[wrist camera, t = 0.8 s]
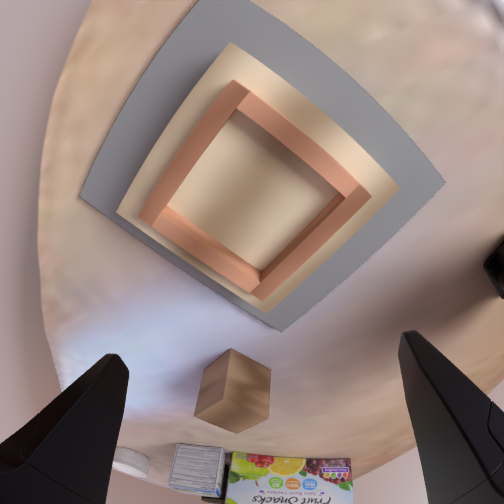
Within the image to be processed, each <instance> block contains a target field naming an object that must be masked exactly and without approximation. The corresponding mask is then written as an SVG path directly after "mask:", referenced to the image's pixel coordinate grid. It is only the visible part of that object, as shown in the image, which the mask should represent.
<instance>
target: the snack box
mask: <svg viewBox="0 0 504 504" xmlns="http://www.w3.org/2000/svg"><path fill="white" fill-rule="evenodd" d="M225 504H354V499H353V484H352V472H351V461H350V459H309V458H290V457H277V456H266V455H256V454H248V453H240V452H233V454H232V458H231V461H230V467H229V475H228V483H227V490H226V497H225Z"/></svg>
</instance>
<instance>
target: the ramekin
mask: <svg viewBox="0 0 504 504" xmlns="http://www.w3.org/2000/svg"><path fill="white" fill-rule="evenodd" d="M149 464H150V460H149V459H148V458H147V457H146V456H145V455H143V454H141V453H139V452H137V451H134V450H131V449H128V448H124V447H116V450H115V454H114V459H113V464H112V466H113V467H114V468H116V469H118V470H120V471H122V472H124V473H127V474H130V475H133V476H137V477H142V478H147V477H148V469H149Z"/></svg>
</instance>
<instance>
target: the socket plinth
mask: <svg viewBox="0 0 504 504" xmlns="http://www.w3.org/2000/svg"><path fill="white" fill-rule="evenodd" d="M399 189H400V187H399V186H398V184H397V183H396V182H395V181H394V180H393V179H392V178H391V177H390V176H389V175H388V174H387V173H386V172H385V170H384V169H383V168H382V167H381V166H380V165H379V164H378V163H377V162H376V161H375V160H374V159H373V158H372V157H371V156H370V155H369V154H368V153H367V152H366V151H365V150H364V149H363V148H362V147H361V146H360V145H359V144H358V143H357V142H356V141H355V140H354V139H353V138H352V137H350V136H349V135H348V134H347V133H346V132H345V131H344V130H343V129H342V128H341V127H340V126H339V125H338V124H336V123H335V122H334V121H333V120H332V119H331V118H330V117H329V116H327V115H326V114H325V113H324V112H323V111H322V110H321V109H319V108H318V107H317V106H316V105H315V104H314V103H312V102H311V101H310V100H309V99H308V98H306V97H305V96H304V95H303V94H301V93H300V92H299V91H298V90H297V89H295V88H294V87H293V86H291V85H290V84H289V83H288V82H286V81H285V80H284V79H282V78H281V77H280V76H279V75H277V74H276V73H275V72H273V71H272V70H271V69H269V68H268V67H266V66H265V65H264V64H262V63H261V62H259V61H258V60H257V59H255V58H254V57H252V56H251V55H249V54H248V53H247V52H245V51H244V50H242V49H241V48H239V47H238V46H236V45H235V44H233V43H232V42H230V43H229V44H228V45H227V46H226V47H225V49H224V50H223V51H222V52H221V53H220V55H219V56H218V57H217V58H216V60H215V61H214V62H213V63H212V65H211V66H210V67H209V68H208V70H207V71H206V72H205V74H204V75H203V76H202V77H201V79H200V80H199V81H198V83H197V84H196V85H195V87H194V88H193V89H192V91H191V92H190V94H189V95H188V96H187V98H186V99H185V100H184V102H183V103H182V105H181V106H180V108H179V109H178V110H177V112H176V113H175V115H174V116H173V118H172V119H171V121H170V122H169V124H168V125H167V127H166V128H165V130H164V131H163V133H162V134H161V136H160V137H159V139H158V141H157V142H156V144H155V145H154V147H153V148H152V150H151V152H150V153H149V155H148V157H147V158H146V160H145V162H144V163H143V165H142V167H141V168H140V170H139V172H138V173H137V175H136V177H135V179H134V180H133V182H132V184H131V186H130V187H129V189H128V191H127V193H126V195H125V196H124V198H123V200H122V202H121V204H120V206H119V208H118V210H117V211H116V213H118V214H119V215H121V216H122V217H123V218H125V219H126V220H128V221H129V222H130V223H132V224H133V225H135V226H136V227H137V228H139V229H140V230H142V231H143V232H144V233H146V234H147V235H149V236H150V237H152V238H153V239H154V240H156V241H157V242H159V243H160V244H162V245H163V246H164V247H166V248H167V249H169V250H170V251H172V252H173V253H175V254H176V255H177V256H179V257H180V258H182V259H183V260H185V261H186V262H188V263H189V264H191V265H192V266H194V267H195V268H197V269H198V270H200V271H201V272H203V273H204V274H206V275H207V276H209V277H210V278H212V279H213V280H215V281H216V282H218V283H219V284H221V285H222V286H224V287H225V288H227V289H228V290H230V291H231V292H233V293H234V294H236V295H238V296H239V297H241V298H242V299H244V300H245V301H247V302H248V303H250V304H251V305H253V306H255V307H256V308H258V309H259V310H261V311H262V312H264V313H266V314H267V313H268V312H269V311H270V310H271V309H273V308H274V307H275V306H276V305H277V304H278V303H280V302H281V301H282V300H283V299H284V298H285V297H286V296H287V295H289V294H290V293H291V292H292V291H293V290H294V289H295V288H296V287H298V286H299V285H300V284H301V283H302V282H303V281H304V280H305V279H307V278H308V277H309V276H310V275H311V274H312V273H313V272H314V271H315V270H316V269H317V268H319V267H320V266H321V265H322V264H323V263H324V262H325V261H326V260H327V259H328V258H329V257H331V256H332V255H333V254H334V253H335V252H336V251H337V250H338V249H339V248H340V247H341V246H342V245H343V244H344V243H345V242H346V241H348V240H349V239H350V238H351V237H352V236H353V235H354V234H355V233H356V232H357V231H358V230H359V229H360V228H361V227H362V226H363V225H364V224H365V223H366V222H367V221H368V220H369V219H370V218H371V217H372V216H373V215H374V214H375V213H376V212H377V211H378V210H380V209H381V208H382V207H383V206H384V205H385V204H386V203H387V202H388V201H389V200H390V199H391V198H392V197H393V196H394V194H395V193H396V192H397V191H398V190H399Z"/></svg>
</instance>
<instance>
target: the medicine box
mask: <svg viewBox="0 0 504 504" xmlns="http://www.w3.org/2000/svg"><path fill="white" fill-rule="evenodd" d="M225 460H226V456H225V453H224V451H223V449H222V448H220V447H207V446H197V445H188V444H180V443H177V446H176V450H175V455H174V459H173V464H172V468H171V472H170V476H169V480H168V485H169V486H170V487H171V488H172V489H173V490H174V491H176V492H180V493H185V494H192V495H199V496H207V497H217V498H219V497H221V490H222V483H223V475H224V468H225Z"/></svg>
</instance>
